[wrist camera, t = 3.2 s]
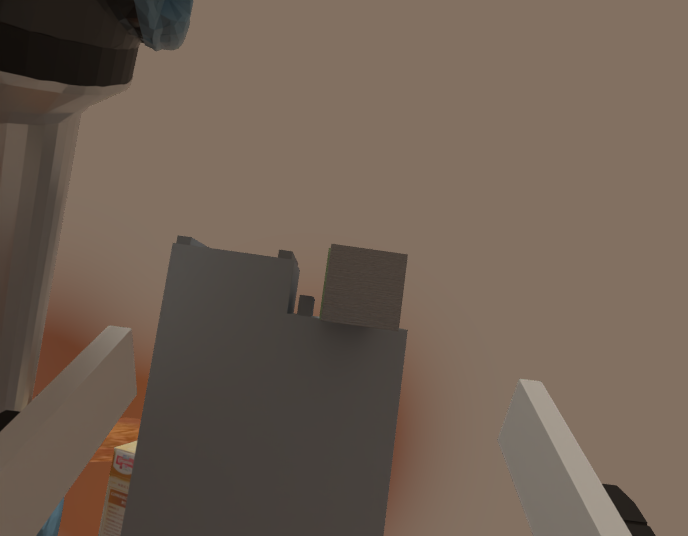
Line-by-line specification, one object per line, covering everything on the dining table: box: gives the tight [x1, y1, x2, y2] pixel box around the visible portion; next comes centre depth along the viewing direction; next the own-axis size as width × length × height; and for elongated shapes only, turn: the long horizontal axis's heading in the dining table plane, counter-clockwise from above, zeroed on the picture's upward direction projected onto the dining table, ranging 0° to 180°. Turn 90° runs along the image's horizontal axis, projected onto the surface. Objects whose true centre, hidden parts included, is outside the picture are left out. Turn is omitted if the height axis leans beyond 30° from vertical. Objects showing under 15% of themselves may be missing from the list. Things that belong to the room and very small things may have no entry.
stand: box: [120, 236, 408, 536], centre depth 34 cm, size 10×19×41 cm, turn 93°
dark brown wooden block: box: [319, 244, 407, 331], centre depth 34 cm, size 24×4×4 cm, turn 3°
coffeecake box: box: [98, 441, 137, 536], centre depth 51 cm, size 15×7×20 cm, turn 162°
